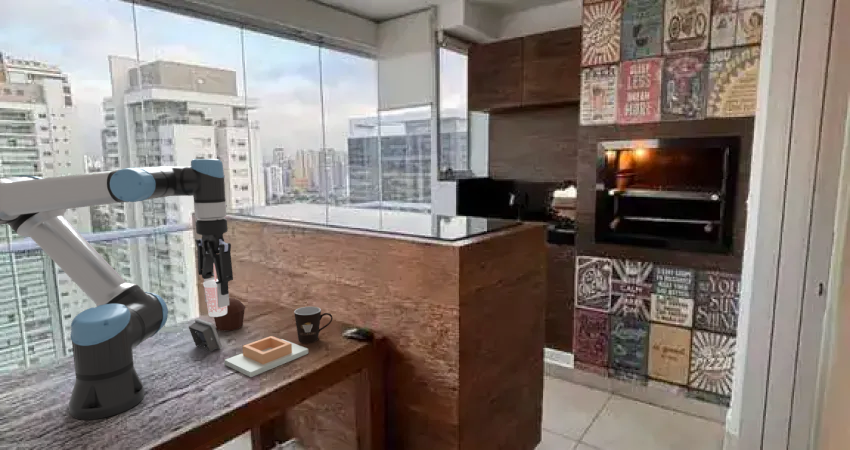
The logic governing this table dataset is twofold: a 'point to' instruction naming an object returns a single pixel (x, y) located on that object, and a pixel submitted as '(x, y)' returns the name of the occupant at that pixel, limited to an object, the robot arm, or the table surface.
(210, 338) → the electrical switch
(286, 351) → the cup holder
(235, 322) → the muffin
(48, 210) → the robot arm
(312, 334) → the coffee mug
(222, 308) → the beverage cup
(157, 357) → the table surface
